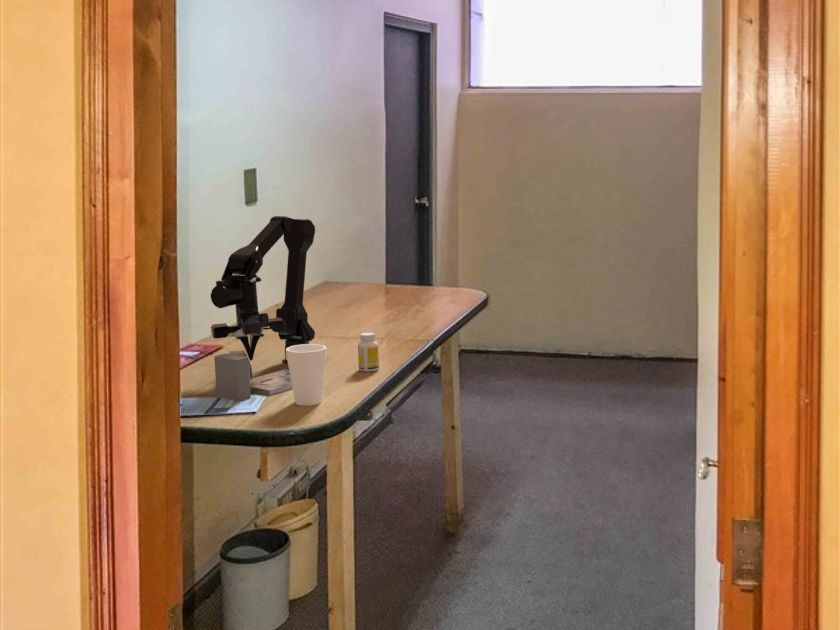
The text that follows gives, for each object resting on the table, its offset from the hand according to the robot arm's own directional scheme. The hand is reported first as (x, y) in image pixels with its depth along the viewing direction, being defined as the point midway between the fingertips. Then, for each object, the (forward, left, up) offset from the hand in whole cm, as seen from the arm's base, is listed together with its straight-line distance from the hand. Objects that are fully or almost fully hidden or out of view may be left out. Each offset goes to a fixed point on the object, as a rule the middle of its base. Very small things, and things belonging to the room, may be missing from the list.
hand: (250, 360), depth 272 cm
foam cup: (+11, +30, -5) cm, 33 cm away
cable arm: (+7, +4, -4) cm, 9 cm away
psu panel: (+2, +11, -5) cm, 12 cm away
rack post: (+17, +11, -5) cm, 21 cm away
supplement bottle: (-22, +21, -5) cm, 31 cm away
